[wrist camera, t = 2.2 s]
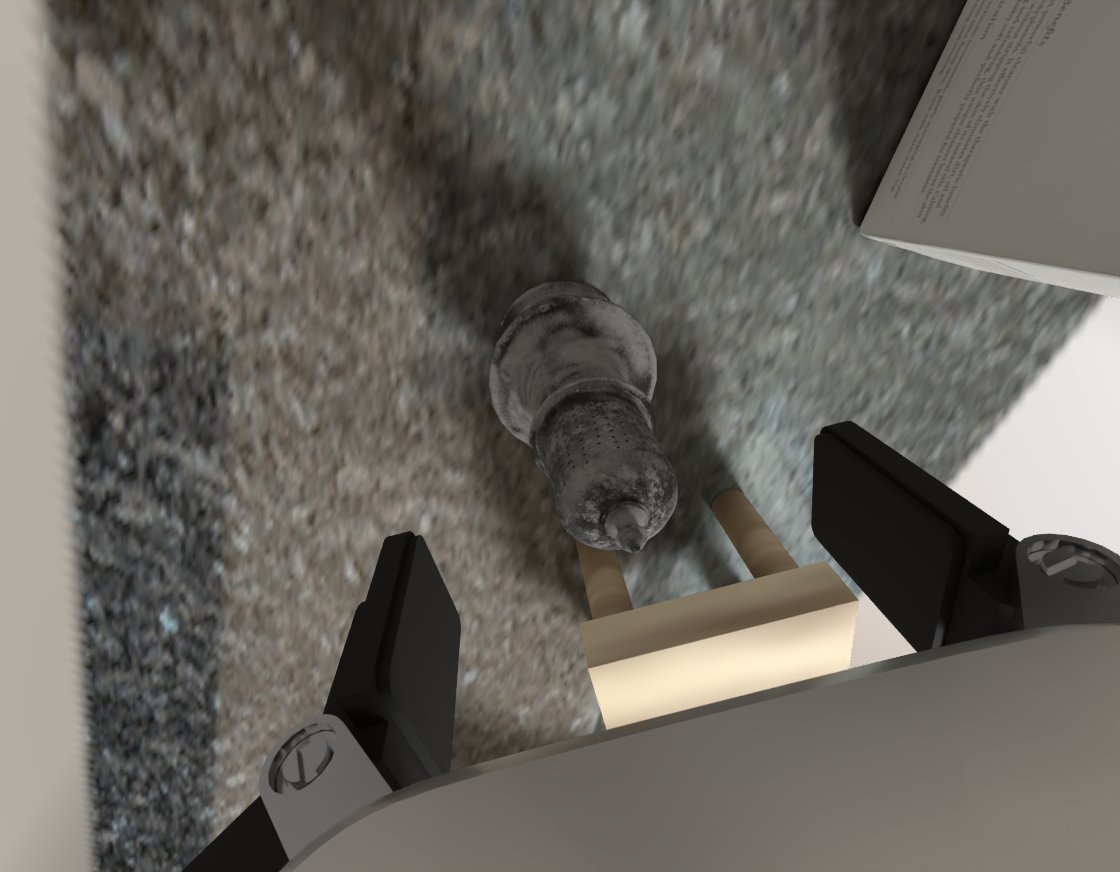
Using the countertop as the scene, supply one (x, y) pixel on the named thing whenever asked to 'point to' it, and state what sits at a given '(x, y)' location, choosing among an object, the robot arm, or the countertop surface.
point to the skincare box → (1015, 148)
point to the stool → (714, 627)
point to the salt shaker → (586, 411)
